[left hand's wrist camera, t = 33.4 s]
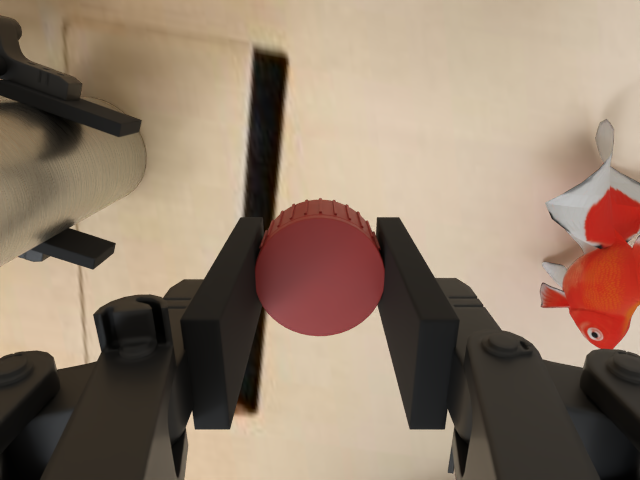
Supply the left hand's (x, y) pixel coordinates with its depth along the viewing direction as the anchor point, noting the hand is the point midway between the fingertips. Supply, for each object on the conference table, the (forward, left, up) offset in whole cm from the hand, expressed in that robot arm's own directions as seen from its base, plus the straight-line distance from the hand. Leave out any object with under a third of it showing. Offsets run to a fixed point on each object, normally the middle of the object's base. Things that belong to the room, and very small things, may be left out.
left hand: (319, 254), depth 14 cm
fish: (-17, -10, -18) cm, 27 cm away
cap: (0, 0, +2) cm, 2 cm away
